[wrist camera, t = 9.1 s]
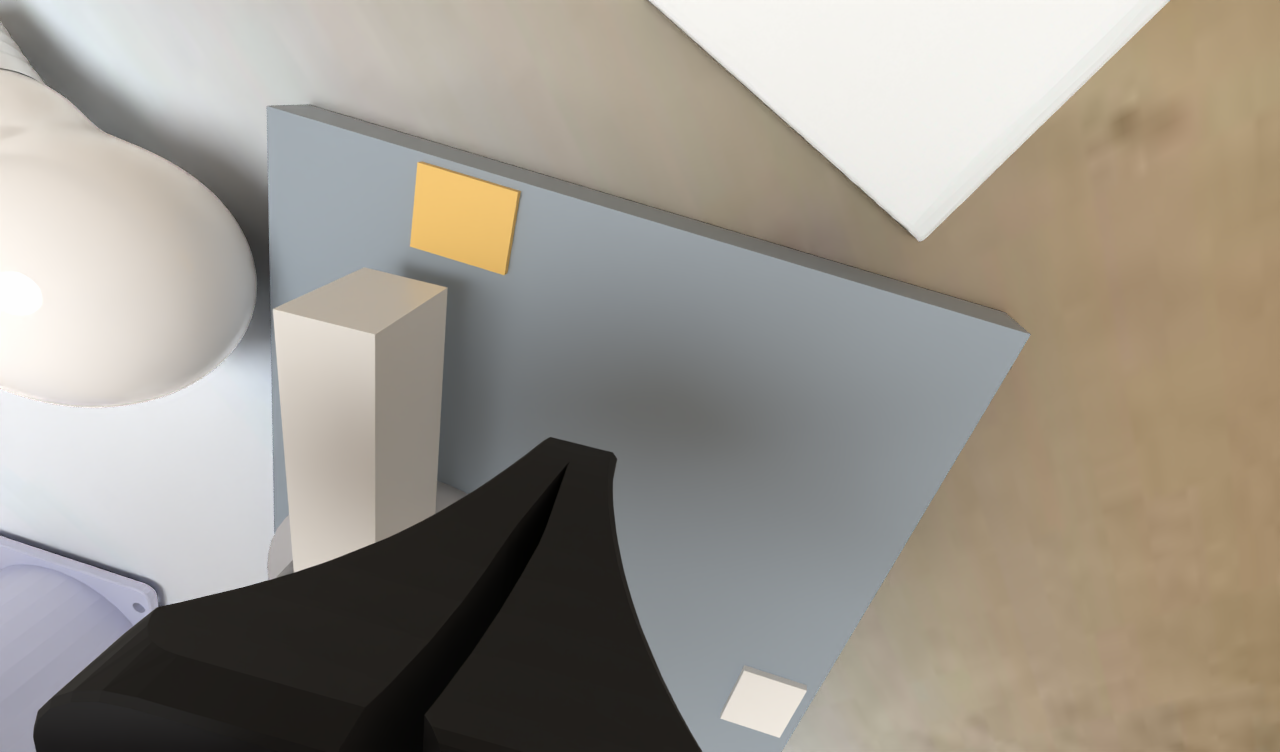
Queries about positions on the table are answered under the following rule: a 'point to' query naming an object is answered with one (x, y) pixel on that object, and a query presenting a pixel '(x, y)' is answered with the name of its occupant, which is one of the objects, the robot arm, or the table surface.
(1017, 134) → the external hard drive
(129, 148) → the lightbulb
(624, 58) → the table surface
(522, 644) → the robot arm
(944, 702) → the table surface
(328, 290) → the cap
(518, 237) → the base
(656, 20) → the table surface
